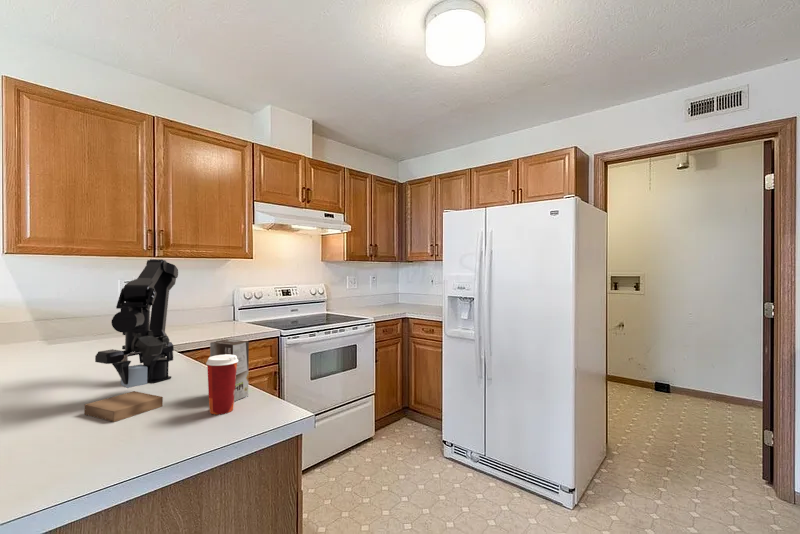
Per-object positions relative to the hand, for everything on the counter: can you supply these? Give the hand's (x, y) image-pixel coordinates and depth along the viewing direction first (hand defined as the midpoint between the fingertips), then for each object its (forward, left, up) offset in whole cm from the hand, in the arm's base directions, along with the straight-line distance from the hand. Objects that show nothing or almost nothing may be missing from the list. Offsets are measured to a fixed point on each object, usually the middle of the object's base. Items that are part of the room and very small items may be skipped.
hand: (136, 381), depth 109 cm
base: (+8, +8, -4) cm, 12 cm away
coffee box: (-11, +24, -5) cm, 27 cm away
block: (0, -2, -1) cm, 2 cm away
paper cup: (-2, +31, -5) cm, 31 cm away
